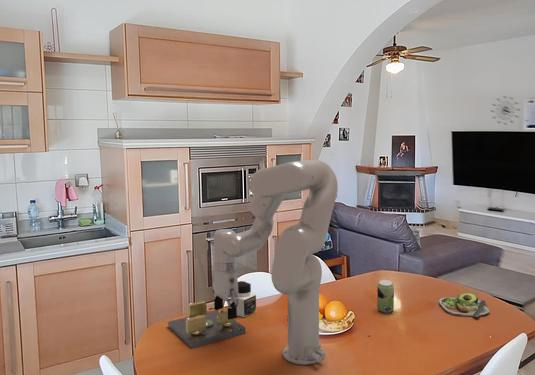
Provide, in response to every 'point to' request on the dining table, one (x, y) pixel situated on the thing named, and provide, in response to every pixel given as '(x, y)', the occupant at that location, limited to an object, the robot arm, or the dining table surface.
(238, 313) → the medicine bottle
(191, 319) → the knob
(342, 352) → the dining table surface
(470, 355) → the dining table surface
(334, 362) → the dining table surface
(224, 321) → the knob
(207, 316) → the plate
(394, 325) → the dining table surface
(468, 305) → the salad plate
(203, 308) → the olive open box
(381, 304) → the beverage can
